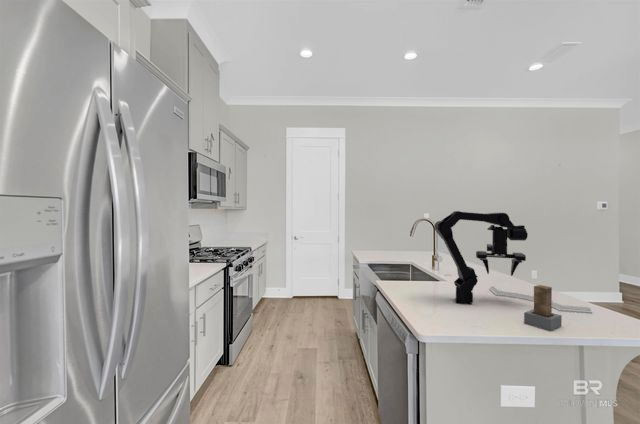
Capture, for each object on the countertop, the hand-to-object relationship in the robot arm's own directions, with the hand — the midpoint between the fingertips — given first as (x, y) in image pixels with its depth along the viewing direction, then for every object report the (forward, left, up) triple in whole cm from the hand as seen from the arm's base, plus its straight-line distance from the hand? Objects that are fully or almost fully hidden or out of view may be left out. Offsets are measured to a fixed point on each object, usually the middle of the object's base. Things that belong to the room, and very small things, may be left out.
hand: (499, 274), depth 134 cm
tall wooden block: (+10, -23, -12) cm, 28 cm away
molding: (+16, +12, -14) cm, 24 cm away
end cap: (+10, -23, -13) cm, 28 cm away
